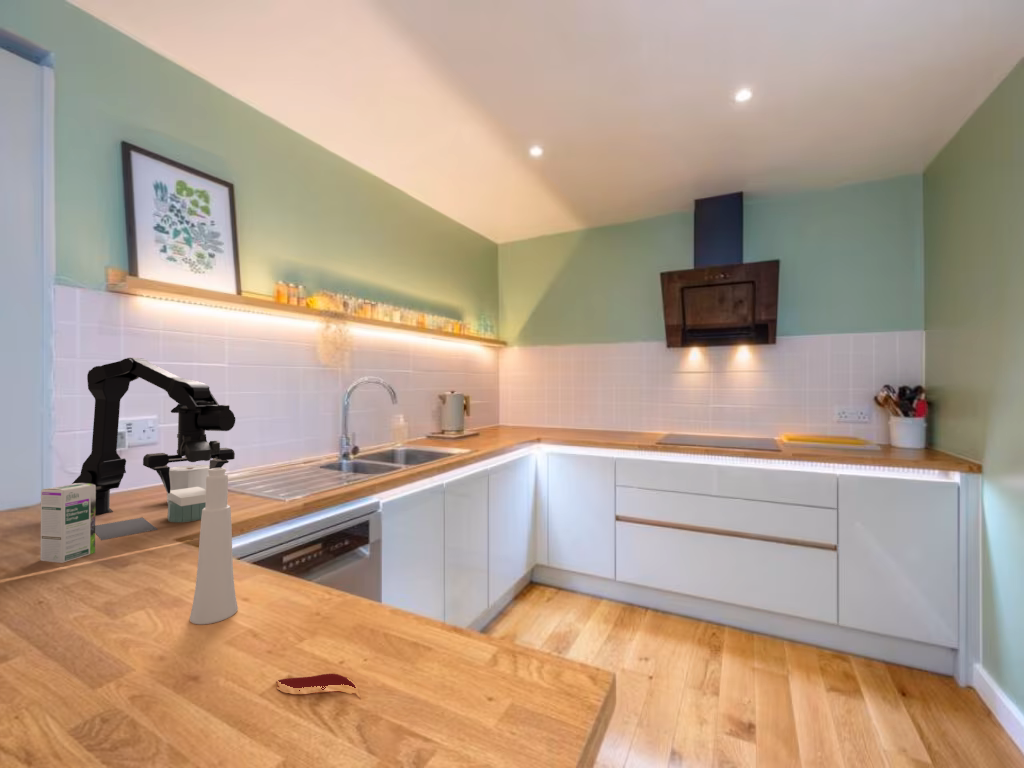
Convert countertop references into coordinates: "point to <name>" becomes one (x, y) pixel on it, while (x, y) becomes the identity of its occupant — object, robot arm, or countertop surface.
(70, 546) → the syrup box
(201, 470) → the toilet tissue
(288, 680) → the cayenne pepper
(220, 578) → the cosmetic bottle
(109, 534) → the mat
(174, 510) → the bowl
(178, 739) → the countertop surface
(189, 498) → the white rectangular block
